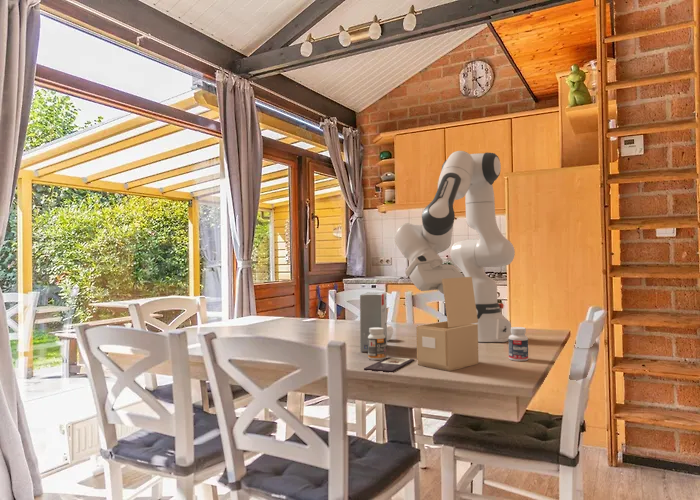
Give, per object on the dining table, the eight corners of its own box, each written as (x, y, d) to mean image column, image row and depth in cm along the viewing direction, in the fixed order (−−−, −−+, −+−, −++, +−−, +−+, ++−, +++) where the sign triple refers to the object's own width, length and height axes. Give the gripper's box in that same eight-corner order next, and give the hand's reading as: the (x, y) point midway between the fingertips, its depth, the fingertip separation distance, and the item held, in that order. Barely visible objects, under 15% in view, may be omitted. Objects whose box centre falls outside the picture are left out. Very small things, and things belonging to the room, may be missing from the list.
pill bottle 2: (512, 361, 163) (511, 329, 163) (506, 357, 169) (505, 326, 169) (531, 361, 163) (530, 329, 163) (524, 357, 169) (524, 326, 169)
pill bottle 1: (380, 361, 168) (380, 329, 168) (365, 359, 170) (364, 328, 171) (388, 358, 172) (388, 327, 172) (373, 356, 175) (372, 326, 175)
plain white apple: (373, 341, 205) (373, 321, 205) (378, 338, 212) (377, 318, 212) (391, 342, 203) (390, 321, 203) (395, 339, 210) (394, 319, 210)
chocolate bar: (363, 368, 155) (388, 357, 171) (364, 371, 155) (388, 360, 171) (392, 370, 151) (414, 359, 167) (392, 374, 151) (414, 362, 167)
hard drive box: (381, 352, 182) (380, 294, 182) (359, 352, 183) (358, 295, 183) (387, 345, 197) (386, 291, 197) (367, 344, 198) (366, 291, 198)
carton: (447, 357, 170) (446, 320, 171) (479, 363, 161) (478, 324, 161) (415, 365, 161) (414, 325, 161) (447, 371, 151) (447, 329, 151)
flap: (476, 322, 161) (470, 276, 162) (478, 322, 160) (471, 276, 162) (448, 327, 152) (441, 278, 153) (449, 327, 152) (443, 278, 153)
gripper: (443, 270, 175) (468, 301, 167) (401, 272, 161) (425, 306, 154) (454, 257, 171) (480, 288, 164) (411, 258, 158) (437, 292, 151)
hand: (453, 297), depth 159 cm, fingers closed
